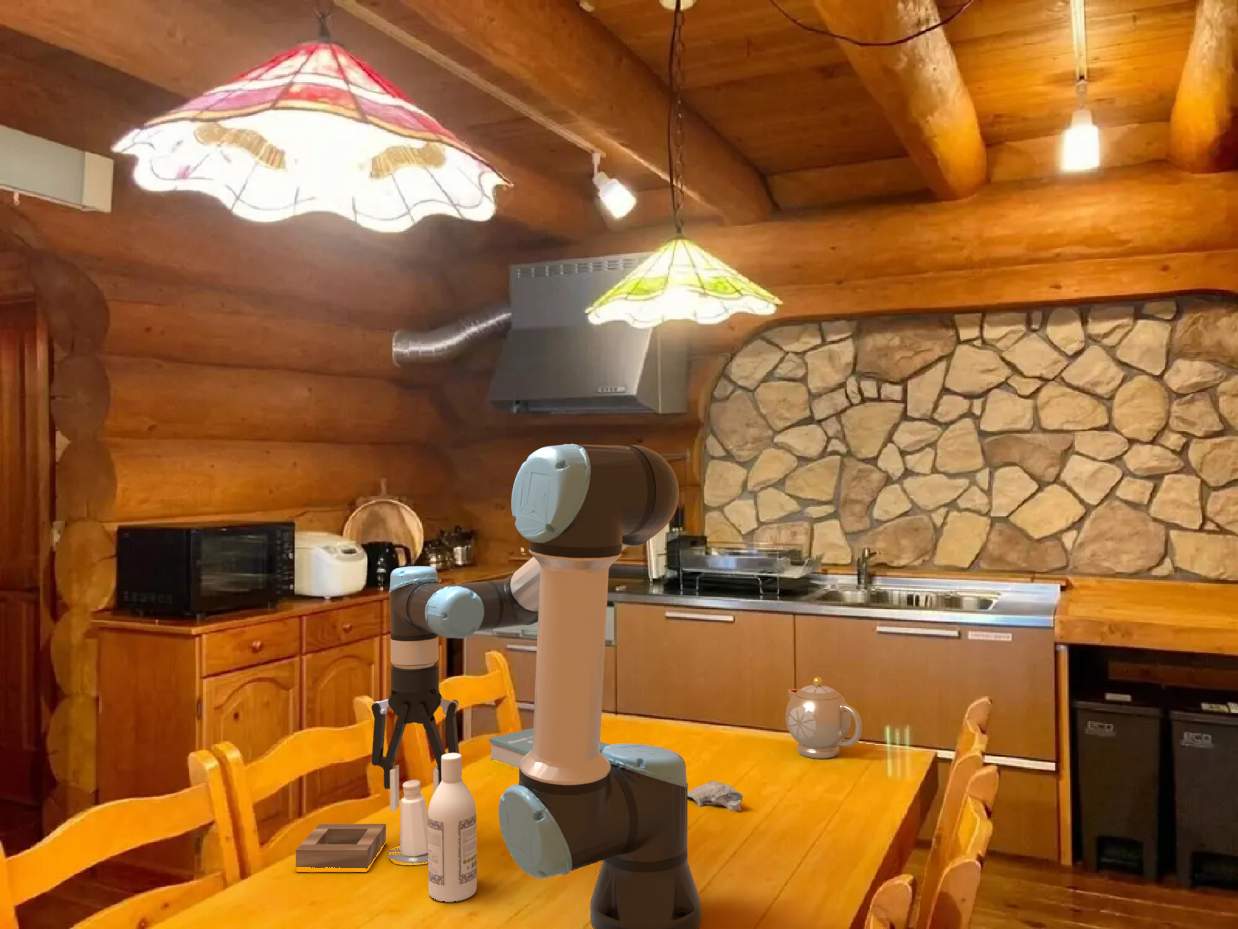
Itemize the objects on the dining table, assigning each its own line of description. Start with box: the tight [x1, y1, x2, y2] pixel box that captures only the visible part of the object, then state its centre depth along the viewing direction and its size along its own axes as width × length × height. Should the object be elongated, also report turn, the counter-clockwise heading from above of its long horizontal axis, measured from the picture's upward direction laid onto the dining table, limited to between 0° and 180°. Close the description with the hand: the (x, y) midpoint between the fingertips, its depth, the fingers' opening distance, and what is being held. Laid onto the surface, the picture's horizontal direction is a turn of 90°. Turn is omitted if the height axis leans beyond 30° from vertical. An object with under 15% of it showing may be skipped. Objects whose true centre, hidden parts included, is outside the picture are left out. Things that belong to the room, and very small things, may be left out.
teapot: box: [785, 676, 863, 760], centre depth 209 cm, size 18×14×16 cm
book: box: [488, 727, 611, 768], centre depth 205 cm, size 23×16×5 cm
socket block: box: [295, 823, 387, 869], centre depth 157 cm, size 11×11×4 cm
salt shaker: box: [399, 779, 428, 857], centre depth 157 cm, size 5×5×11 cm
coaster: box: [387, 843, 428, 864], centre depth 158 cm, size 9×9×1 cm
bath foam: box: [427, 752, 478, 903], centre depth 144 cm, size 7×7×20 cm
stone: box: [688, 780, 744, 812], centre depth 180 cm, size 6×12×4 cm, turn 27°
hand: (416, 808), depth 158 cm, fingers open, 6 cm apart
